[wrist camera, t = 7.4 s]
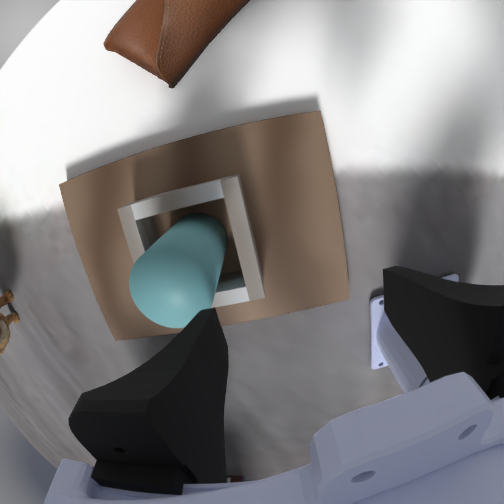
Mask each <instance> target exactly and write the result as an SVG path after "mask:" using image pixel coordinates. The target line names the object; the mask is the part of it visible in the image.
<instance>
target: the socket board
mask: <svg viewBox="0 0 504 504" xmlns="http://www.w3.org/2000/svg"><path fill="white" fill-rule="evenodd" d="M59 186H60V190H61V194H62V198H63V202H64V206H65V210H66V213H67V217H68V220H69V224H70V227H71V230H72V233H73V237H74V240H75V243H76V246H77V249H78V252H79V255H80V258H81V260H82V263H83V266H84V269H85V271H86V274H87V277H88V279H89V282H90V284H91V287H92V290H93V292H94V294H95V297H96V299H97V302H98V304H99V306H100V309H101V311H102V313H103V316H104V318H105V320H106V322H107V324H108V327H109V329H110V331H111V333H112V335H113V337H114V339H115V341H117V340H126V339H135V338H143V337H151V336H159V335H166V334H173V333H180V332H181V331H182V330H183V329H184V328H170V327H165V326H162V325H159V324H157V323H155V322H153V321H151V320H150V319H149V318H147V317H146V316H145V315H144V314H143V313H142V312H141V311H140V310H139V309H138V307H137V306H136V304H135V303H134V301H133V299H132V296H131V293H130V288H129V277H130V272H131V269H132V267H133V265H134V263H135V262H136V261H137V259H138V258H139V257H140V256H141V255H142V254H143V253H144V252H145V251H147V250H148V249H149V248H150V247H151V246H152V245H153V244H154V243H155V242H156V241H157V240H158V239H159V238H160V237H161V236H163V235H164V234H165V233H166V232H167V231H168V230H169V229H170V228H171V227H172V226H173V225H175V224H176V223H177V222H178V221H179V220H180V219H181V218H183V217H184V216H186V215H188V214H192V213H205V214H208V215H211V216H213V217H214V218H216V219H217V220H218V221H219V222H220V223H221V224H222V225H223V227H224V229H225V231H226V234H227V239H228V244H227V249H226V253H225V257H224V261H223V265H222V268H221V272H220V276H219V280H218V284H217V288H216V292H215V296H214V300H213V304H212V306H211V308H214V307H215V309H216V312H217V315H218V318H219V321H220V324H221V326H224V325H230V324H235V323H241V322H246V321H251V320H257V319H262V318H267V317H272V316H277V315H282V314H286V313H291V312H296V311H300V310H305V309H310V308H314V307H318V306H323V305H327V304H331V303H335V302H340V301H344V300H348V299H350V296H349V285H348V274H347V265H346V256H345V247H344V239H343V232H342V224H341V217H340V211H339V204H338V198H337V192H336V186H335V180H334V174H333V169H332V164H331V158H330V153H329V148H328V143H327V138H326V134H325V129H324V125H323V120H322V116H321V111H315V112H308V113H301V114H295V115H289V116H283V117H277V118H272V119H266V120H261V121H256V122H251V123H247V124H242V125H238V126H233V127H229V128H225V129H220V130H216V131H212V132H208V133H205V134H201V135H197V136H193V137H190V138H186V139H183V140H179V141H176V142H172V143H169V144H166V145H163V146H159V147H156V148H153V149H150V150H147V151H144V152H141V153H138V154H135V155H132V156H129V157H126V158H124V159H121V160H118V161H115V162H113V163H110V164H107V165H105V166H102V167H100V168H97V169H95V170H92V171H90V172H87V173H85V174H82V175H80V176H78V177H75V178H73V179H71V180H68V181H66V182H64V183H62V184H59Z"/></svg>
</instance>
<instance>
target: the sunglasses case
mask: <svg viewBox="0 0 504 504" xmlns="http://www.w3.org/2000/svg"><path fill="white" fill-rule="evenodd" d="M249 1H250V0H137V1H136V2H135V3H134V4H133V5H132V6H131V7H130V8H129V9H128V11H127V12H126V13H125V14H124V15H123V16H122V18H121V19H120V20H119V21H118V22H117V24H116V25H115V26H114V28H113V29H112V30H111V31H110V33H109V34H108V36H107V38H106V39H105V42H104V46H105V48H106V50H108V51H112V52H116V53H118V54H119V55H121V56H123V57H125V58H126V59H128V60H130V61H131V62H133V63H135V64H137V65H138V66H140V67H142V68H144V69H145V70H147V71H148V72H150V73H152V74H153V75H155V76H157V77H158V78H160V79H162V80H163V81H165V82H167V83H168V84H169V88H174V87H175V86H176V85H177V83H178V82H179V81H180V80H181V79H182V77H183V76H184V75H185V74H186V72H187V71H188V70H189V68H190V67H191V66H192V65H193V63H194V62H195V61H196V60H197V58H198V57H199V56H200V54H201V53H202V52H203V51H204V49H205V48H206V47H207V46H208V44H209V43H210V42H211V41H212V40H213V39H214V38H215V37H216V36H217V34H218V33H219V32H220V31H221V30H222V29H223V28H224V27H225V26H226V25H227V24H228V22H229V21H230V20H231V19H232V18H233V17H234V16H235V15H236V14H237V13H238V12H239V11H240V10H241V9H242V8H243V7H244V6H245V5H246V4H247V3H248V2H249Z"/></svg>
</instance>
